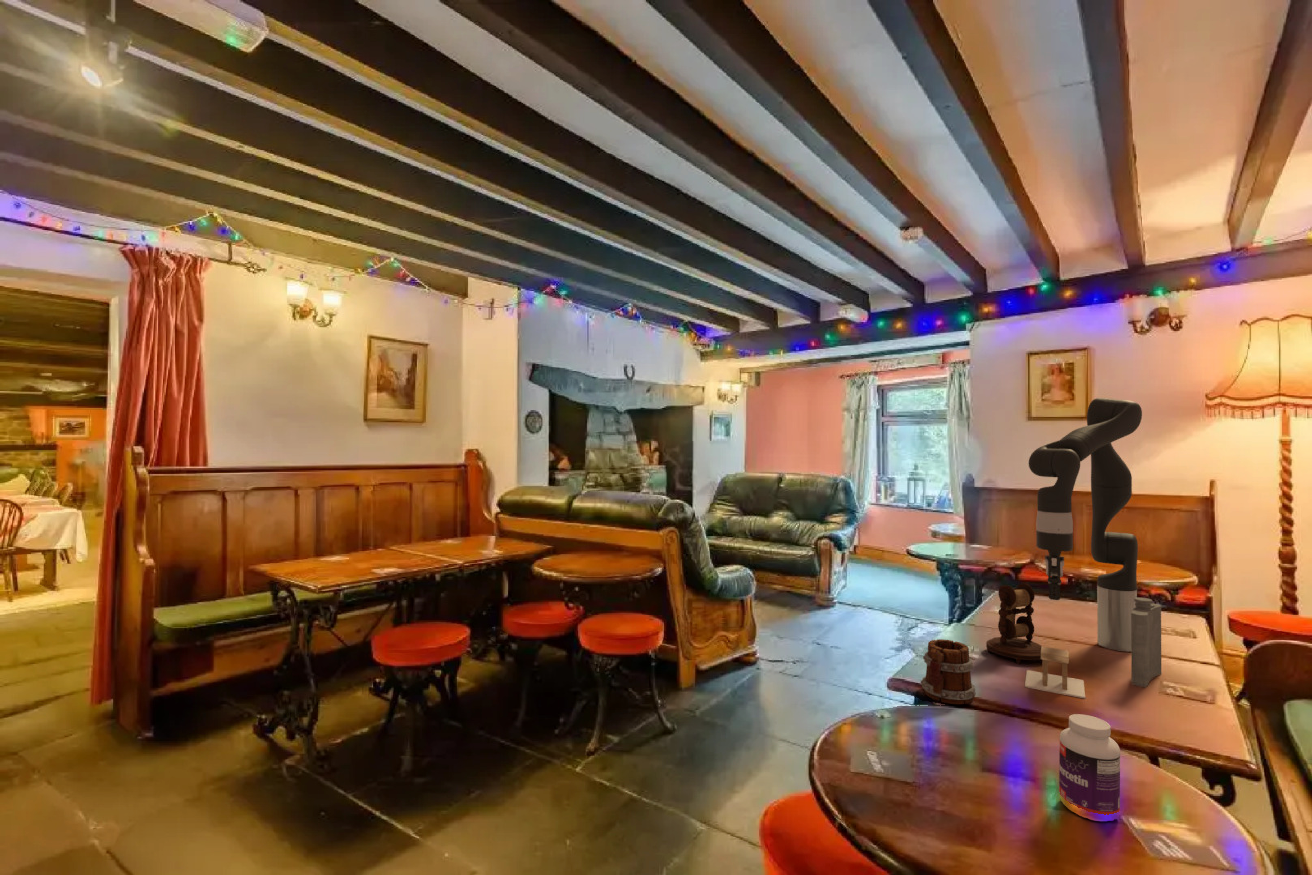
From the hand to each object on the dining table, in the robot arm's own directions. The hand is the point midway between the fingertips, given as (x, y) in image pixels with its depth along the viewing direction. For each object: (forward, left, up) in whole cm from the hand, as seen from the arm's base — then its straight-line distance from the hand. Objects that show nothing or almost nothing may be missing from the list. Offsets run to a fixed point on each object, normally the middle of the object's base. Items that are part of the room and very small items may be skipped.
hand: (1054, 595), depth 149 cm
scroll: (-18, -9, -22) cm, 30 cm away
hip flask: (-18, +19, -22) cm, 35 cm away
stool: (+1, 0, -22) cm, 22 cm away
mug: (+23, -21, -22) cm, 38 cm away
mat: (0, 0, -22) cm, 22 cm away
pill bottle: (+58, +5, -22) cm, 62 cm away
